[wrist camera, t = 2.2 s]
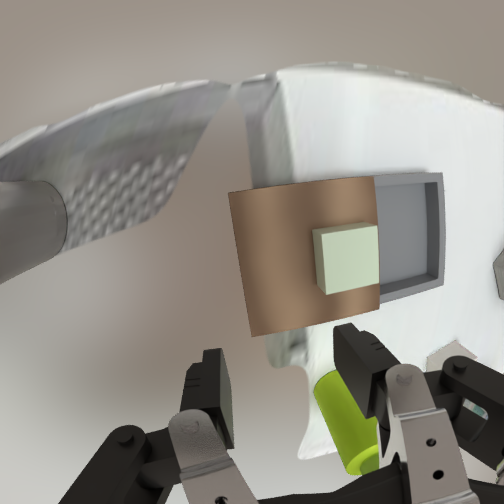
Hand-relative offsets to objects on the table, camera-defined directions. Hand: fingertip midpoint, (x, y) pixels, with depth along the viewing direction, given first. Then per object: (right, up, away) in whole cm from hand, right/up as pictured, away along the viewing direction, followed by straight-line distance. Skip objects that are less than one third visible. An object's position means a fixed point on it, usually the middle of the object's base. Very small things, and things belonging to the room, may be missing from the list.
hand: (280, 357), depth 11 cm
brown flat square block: (+4, +5, +17) cm, 18 cm away
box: (+15, +7, +18) cm, 24 cm away
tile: (+7, +4, +13) cm, 16 cm away
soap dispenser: (+10, -13, +22) cm, 27 cm away
